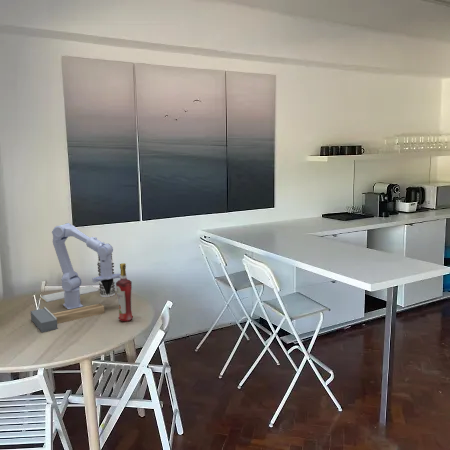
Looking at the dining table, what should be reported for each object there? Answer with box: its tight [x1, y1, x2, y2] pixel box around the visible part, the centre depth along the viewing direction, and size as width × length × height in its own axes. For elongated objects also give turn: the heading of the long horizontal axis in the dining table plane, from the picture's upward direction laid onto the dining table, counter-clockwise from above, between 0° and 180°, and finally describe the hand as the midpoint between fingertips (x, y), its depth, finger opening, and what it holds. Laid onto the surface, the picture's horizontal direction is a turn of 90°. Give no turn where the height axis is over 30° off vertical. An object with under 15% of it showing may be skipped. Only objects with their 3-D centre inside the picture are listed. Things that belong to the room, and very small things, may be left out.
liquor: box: [115, 263, 134, 323], centre depth 227 cm, size 7×7×28 cm
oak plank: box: [51, 303, 105, 325], centre depth 233 cm, size 6×28×4 cm, turn 125°
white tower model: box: [97, 252, 116, 298], centre depth 267 cm, size 9×9×25 cm
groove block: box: [30, 306, 58, 333], centre depth 225 cm, size 20×7×5 cm, turn 35°
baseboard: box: [39, 285, 100, 304], centre depth 271 cm, size 31×3×12 cm
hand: (107, 293), depth 244 cm, fingers closed
